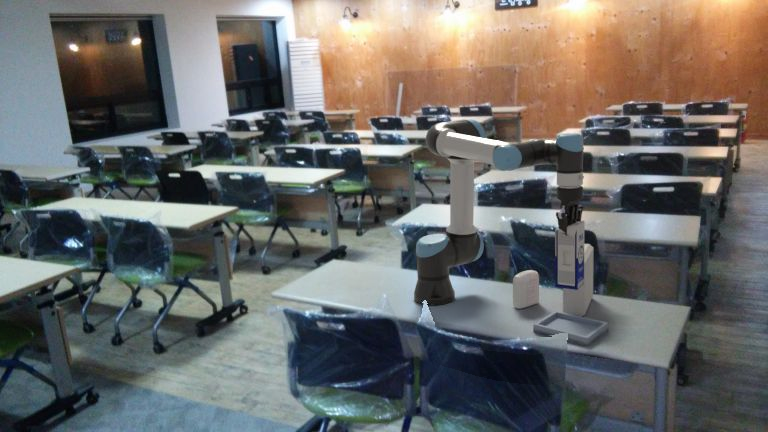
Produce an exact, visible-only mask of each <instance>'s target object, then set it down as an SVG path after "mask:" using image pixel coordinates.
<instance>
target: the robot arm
mask: <svg viewBox="0 0 768 432" xmlns="http://www.w3.org/2000/svg"><path fill="white" fill-rule="evenodd" d="M428 129H429V130H427V133H426V135H425V145H426V147H427V149H428V151H430V152H431V154H433V155H436V156H439V157H443V158H446V159H447V160H448V161H449V163H450V174H449V175H450V176H449V177H450V182H449V183H450V184H449V185H450V191H449V192H450V194H449V197H450V201H449V202H450V203H449V204H450V205H449V208H450V209H449V212H450V215H449V217H450V219H449V222H450V224H449V225H448V226H447V227H446V228H445V229H446V230H445V234H443V233H434V234H427V235H424V236H421V237H420V238H419V239H418V240H417V242H416V246H415V247H416V248H415V255H416V267H417V268H416V271H417V281H416V284H415V289H414V292H413V300H414V302H416V303H417V302H418V303H417V304H420V303H422V302H423V301H424V300H426V301H427V303H428V304H429V305H428V306H440V305H445V304H449V303H451V302H453V301H454V300H455V298H456V292H455V289H454V287H453V284H452V281H451V278H450V268H451V269H452V268H455V267H458V266H462V265H465V264H466V265H467V264H470V263H472V262H475V261H478V259H479V258H481V256H482V254H483V252H484V248H485V247H484V245H485V244H484V239H483V238H482V235H481V233H480V232H478V228H477V227H476V226H475V225H474V214H475V213H474V212H475V211H474V207H475V206H474V205H475V204H474V203H475V197H474V196H475V189H474V188H475V162H479V163H483V164H489V165H493V166H495V167H496V168H497V170H499V171H502V172H506V171H510V172H511V171H514V170H518V169H523V168H528V167H530V168H531V167H535V166H540V165H552V166H556V186H557V187H556V199H558V201H560V207H559V208H560V211H556V213H555V216H556V219H557V226H558V228H559V229H561V230H562V231H563V232H565V233H563V232H562V233H563V234H565V235H566V236H567V227H568V226H569V225H572V224H573V223H576V222H578V221H582V218H583V217H582V216H583V215H582V214H583V211H584V205H583V204H582V205H581V204H580V201H581V200H582V199H583V198H584V187H583V184H584V178H585V176H584V167H583V166H584V148H585V147H584V139H583V134H580V133H576V132H574V133H573V132H571V133H569V132H567V133H559V134H557V136H556V139H545V138H544V139H543V138H532V139H529V140H528V141H525V142H518V143H517V142H516V143H514V142H513V143H512V142H507V141H501V140H496V139H491V138H487V136H486V133H485V130H484V127H483V126H482V125H481V123H479V122H478V120H475V119H465V118H464V119H458V120H457V119H455V120H450V121H449V120H448V121H441V122H438V123H435V124H433V125H432V126H431V127H430V128H428Z"/></svg>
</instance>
